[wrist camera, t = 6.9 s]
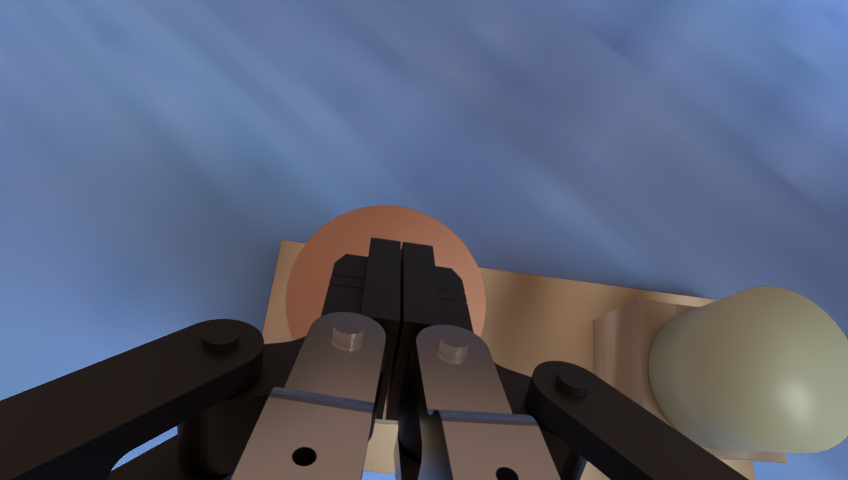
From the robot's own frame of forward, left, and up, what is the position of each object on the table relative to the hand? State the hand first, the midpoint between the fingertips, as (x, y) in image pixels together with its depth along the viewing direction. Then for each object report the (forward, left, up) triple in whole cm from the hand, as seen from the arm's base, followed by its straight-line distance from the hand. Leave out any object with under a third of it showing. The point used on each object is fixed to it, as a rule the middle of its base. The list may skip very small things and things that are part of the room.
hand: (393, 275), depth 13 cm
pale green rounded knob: (-8, +11, -11) cm, 18 cm away
